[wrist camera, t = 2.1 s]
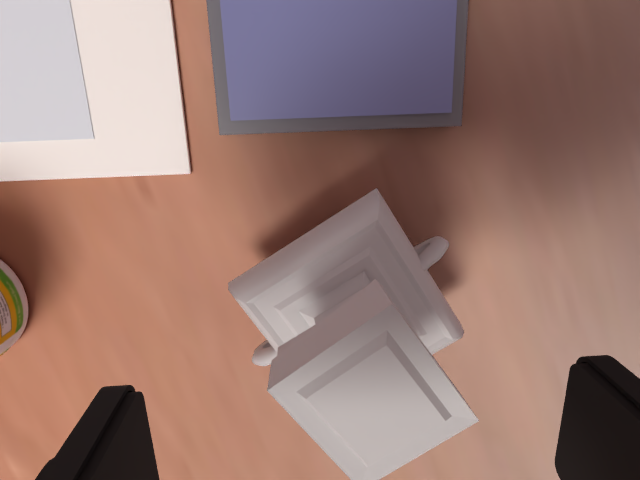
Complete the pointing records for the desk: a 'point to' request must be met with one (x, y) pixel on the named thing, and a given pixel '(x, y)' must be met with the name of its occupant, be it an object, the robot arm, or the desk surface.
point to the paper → (90, 90)
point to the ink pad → (337, 64)
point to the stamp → (358, 339)
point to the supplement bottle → (11, 308)
